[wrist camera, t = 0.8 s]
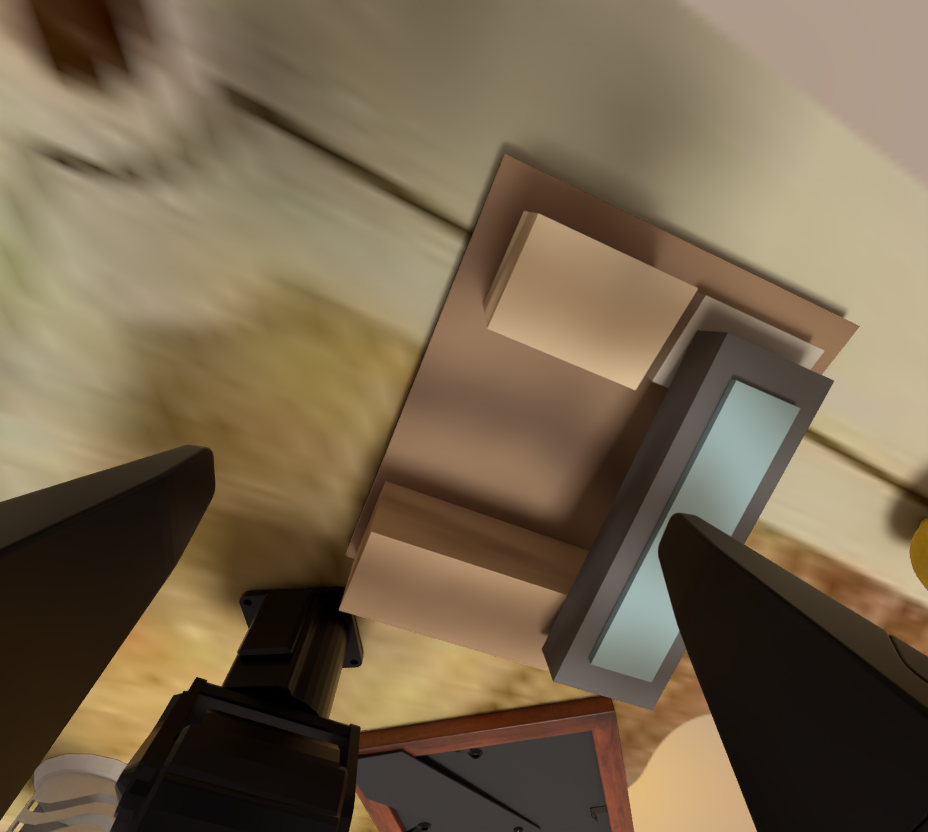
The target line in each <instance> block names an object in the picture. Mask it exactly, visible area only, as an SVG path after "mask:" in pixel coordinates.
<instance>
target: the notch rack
mask: <svg viewBox="0 0 928 832" xmlns="http://www.w3.org/2000/svg"><path fill="white" fill-rule="evenodd" d="M859 327H860V326H858V325H856V324H854V323H852V322H850V321H848V320H846V319H844V318H842V317H840V316H838V315H836V314H834V313H832V312H829V311H827V310H825V309H823V308H821V307H819V306H817V305H815V304H813V303H811V302H809V301H807V300H805V299H803V298H801V297H799V296H797V295H795V294H793V293H790V292H788V291H786V290H784V289H782V288H780V287H778V286H776V285H774V284H772V283H770V282H768V281H766V280H764V279H762V278H760V277H758V276H756V275H753V274H751V273H749V272H747V271H745V270H743V269H741V268H739V267H737V266H735V265H733V264H731V263H729V262H727V261H725V260H723V259H721V258H719V257H716V256H714V255H712V254H710V253H708V252H706V251H704V250H702V249H700V248H698V247H696V246H694V245H692V244H690V243H688V242H686V241H684V240H682V239H679V238H677V237H675V236H673V235H671V234H669V233H667V232H665V231H663V230H661V229H659V228H657V227H655V226H653V225H651V224H649V223H647V222H645V221H642V220H640V219H638V218H636V217H634V216H632V215H630V214H628V213H626V212H624V211H622V210H620V209H618V208H616V207H614V206H612V205H610V204H608V203H605V202H603V201H601V200H599V199H597V198H595V197H593V196H591V195H589V194H587V193H585V192H583V191H581V190H579V189H577V188H575V187H573V186H571V185H568V184H566V183H564V182H562V181H560V180H558V179H556V178H554V177H552V176H550V175H548V174H546V173H544V172H542V171H540V170H538V169H536V168H534V167H531V166H529V165H527V164H525V163H523V162H521V161H519V160H517V159H515V158H513V157H511V156H509V155H507V154H505V155H504V156H503V158H502V160H501V163H500V165H499V168H498V170H497V173H496V176H495V178H494V181H493V183H492V186H491V188H490V191H489V193H488V196H487V198H486V201H485V203H484V206H483V208H482V211H481V213H480V216H479V218H478V221H477V223H476V226H475V228H474V231H473V233H472V236H471V238H470V241H469V243H468V246H467V248H466V251H465V254H464V256H463V259H462V261H461V264H460V266H459V269H458V271H457V274H456V276H455V279H454V281H453V284H452V286H451V289H450V291H449V294H448V296H447V299H446V301H445V304H444V306H443V309H442V311H441V314H440V316H439V319H438V321H437V324H436V327H435V329H434V332H433V334H432V337H431V339H430V342H429V344H428V347H427V349H426V352H425V354H424V357H423V359H422V362H421V364H420V367H419V369H418V372H417V374H416V377H415V379H414V382H413V384H412V387H411V389H410V392H409V394H408V397H407V399H406V402H405V405H404V407H403V410H402V412H401V415H400V417H399V420H398V422H397V425H396V427H395V430H394V432H393V435H392V437H391V440H390V442H389V445H388V447H387V450H386V452H385V455H384V457H383V460H382V462H381V465H380V467H379V470H378V472H377V475H376V478H375V480H374V483H373V485H372V488H371V490H370V493H369V495H368V498H367V500H366V503H365V505H364V508H363V510H362V513H361V515H360V518H359V520H358V523H357V525H356V528H355V530H354V533H353V535H352V538H351V540H350V543H349V546H348V549H347V552H346V555H345V556H347V557H350V558H354V562H353V565H352V568H351V572H350V575H349V578H348V582H347V585H346V588H345V591H344V595H343V598H342V601H341V604H340V608H339V611H343V612H346V613H349V614H353V615H356V616H360V617H363V618H367V619H370V620H373V621H377V622H380V623H384V624H387V625H391V626H394V627H397V628H401V629H404V630H408V631H411V632H415V633H418V634H421V635H425V636H428V637H432V638H435V639H438V640H442V641H445V642H449V643H452V644H456V645H459V646H462V647H466V648H469V649H473V650H476V651H480V652H483V653H486V654H490V655H493V656H497V657H500V658H504V659H507V660H510V661H514V662H517V663H521V664H524V665H527V666H531V667H534V668H538V669H541V670H545V671H548V672H550V671H549V668H548V666H547V663H546V660H545V657H544V654H543V652H542V647H543V645H544V643H545V641H546V639H547V637H548V635H549V633H550V631H551V629H552V627H553V625H554V623H555V620H556V618H557V616H558V614H559V612H560V610H561V608H562V606H563V604H564V602H565V600H566V598H567V596H568V594H569V592H570V590H571V588H572V586H573V584H574V582H575V580H576V577H577V575H578V573H579V571H580V569H581V567H582V565H583V563H584V561H585V559H586V557H587V555H588V553H589V551H590V549H591V547H592V545H593V543H594V541H595V539H596V536H597V534H598V532H599V530H600V528H601V526H602V524H603V522H604V520H605V518H606V516H607V514H608V512H609V510H610V508H611V506H612V504H613V502H614V500H615V498H616V496H617V493H618V491H619V489H620V487H621V485H622V483H623V481H624V479H625V477H626V475H627V473H628V471H629V469H630V467H631V465H632V463H633V461H634V459H635V457H636V455H637V453H638V450H639V448H640V446H641V444H642V442H643V440H644V438H645V436H646V434H647V432H648V430H649V428H650V426H651V424H652V422H653V420H654V418H655V416H656V414H657V412H658V409H659V407H660V405H661V403H662V401H663V399H664V397H665V395H666V393H667V391H668V389H669V387H670V385H671V383H672V381H673V379H674V377H675V375H676V373H677V371H678V369H679V366H680V364H681V362H682V360H683V358H684V356H685V354H686V352H687V350H688V348H689V346H690V344H691V342H692V340H693V338H694V336H695V334H696V332H697V330H699V331H715V332H728V333H731V334H733V335H735V336H737V337H739V338H741V339H744V340H746V341H748V342H750V343H752V344H755V345H757V346H759V347H761V348H763V349H766V350H768V351H770V352H772V353H774V354H776V355H779V356H781V357H783V358H785V359H787V360H790V361H792V362H794V363H796V364H798V365H801V366H803V367H805V368H807V369H809V370H812V371H814V372H816V373H818V374H820V375H822V374H823V372H824V371H825V370H826V369H827V367H828V366H829V365H830V363H831V362H832V361H833V360H834V358H835V357H836V356H837V355H838V353H839V352H840V351H841V349H842V348H843V347H844V346H845V344H846V343H847V342H848V341H849V339H850V338H851V337H852V335H853V334H854V333H855V332H856V330H857V329H858V328H859Z"/></svg>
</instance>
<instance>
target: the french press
mask: <svg viewBox="0 0 928 832" xmlns="http://www.w3.org/2000/svg"><path fill="white" fill-rule="evenodd" d="M126 766H127V764H125V763H123V762H121V761H119V760H116V759H111V758H106V757H102V756H97V755H93V754H64V755H60V756H57V757H53V758H50V759H47V760H45V761H44V762H43V763H42V764H41V765H39V766H38V767H37V768H36V769H35V771H34V789H35V793H34V795H33V796H32V797H31V799H30V800H29V801H28V803H27V804H26V805H25V807H24V808H23V810H22V811H21V812H20V814H19V815H18V816H17V818H16V819H15V820H14V822H13V823H12V824H11V826H10V827H9V829H8V830H7V831H6V832H13V831H14V829H15V828H16V827H17V825H18V824H19V822H21V823H24V825H23V827H22V828H21V830H20V831H19V832H110V830H111V828H112V825H113V823H114V821H115V819H116V818H114V817H113V816H114V813H115V811H116V808H117V806H118V801H117V796H116V792H115V784H116V782H117V780H118V778H119V776H120V775H121V773H122V771H123V770H124V768H125V767H126ZM34 801H37V802H38V803H39V804H38V805H37V807H36V808H35V810H34V811H33V812H31V811H29V808H30V807H31V806H32V804H33V803H34Z"/></svg>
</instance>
